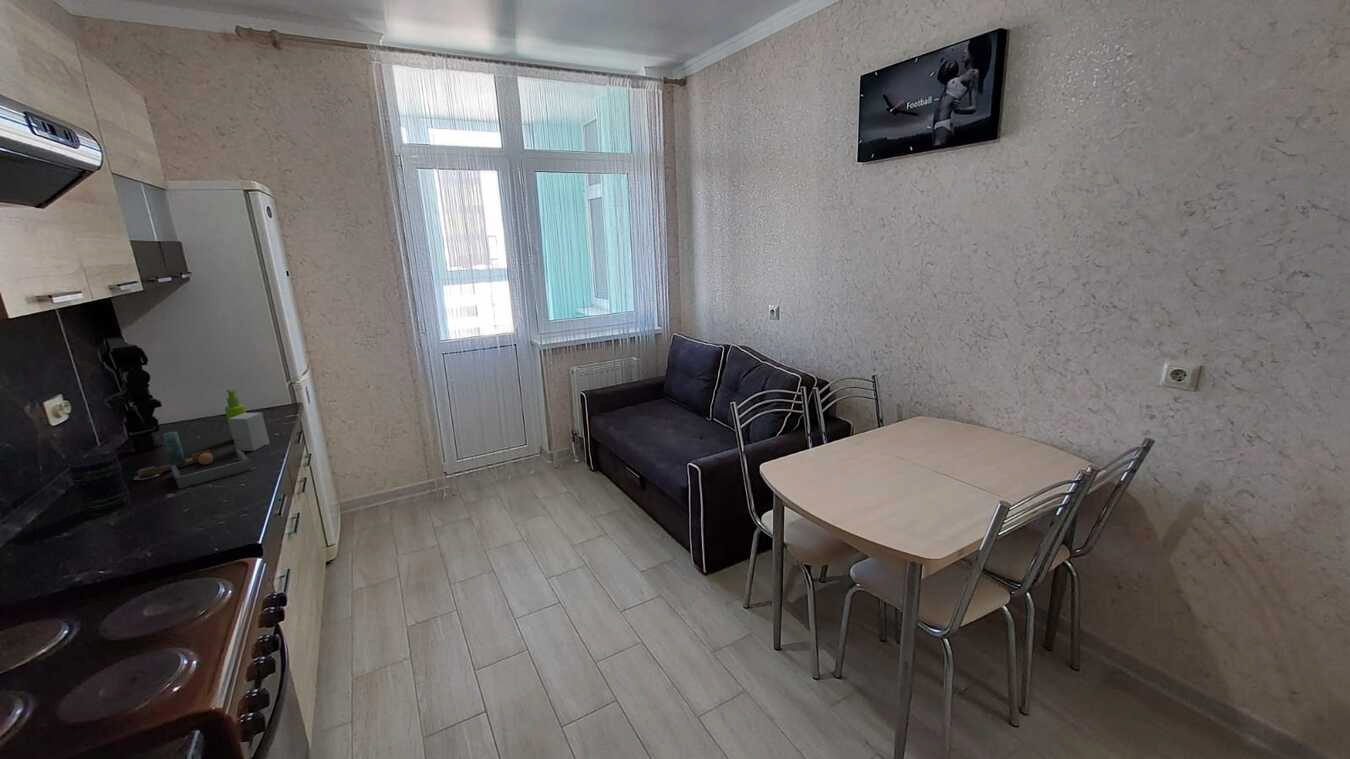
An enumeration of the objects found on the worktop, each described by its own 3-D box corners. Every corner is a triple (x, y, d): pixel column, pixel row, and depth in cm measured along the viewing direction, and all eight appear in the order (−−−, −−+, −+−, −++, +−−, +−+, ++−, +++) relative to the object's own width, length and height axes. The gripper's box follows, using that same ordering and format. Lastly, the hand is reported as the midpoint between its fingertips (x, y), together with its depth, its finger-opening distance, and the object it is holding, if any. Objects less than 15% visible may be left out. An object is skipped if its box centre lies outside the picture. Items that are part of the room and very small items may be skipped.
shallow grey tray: (173, 475, 177) (170, 466, 176) (242, 458, 190) (240, 449, 189) (179, 488, 167) (176, 478, 166) (251, 469, 181) (249, 459, 180)
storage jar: (100, 517, 151) (84, 468, 147) (74, 514, 153) (57, 465, 149) (140, 500, 160) (126, 454, 156) (115, 498, 162) (100, 452, 158)
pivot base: (137, 482, 173) (137, 481, 172) (130, 477, 176) (130, 477, 176) (166, 474, 178) (165, 473, 178) (158, 470, 182) (158, 469, 182)
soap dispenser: (236, 442, 205) (223, 392, 200) (230, 439, 209) (218, 390, 204) (254, 438, 210) (243, 389, 205) (249, 434, 214) (237, 386, 209)
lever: (141, 479, 174) (130, 444, 171) (137, 476, 177) (126, 442, 173) (214, 458, 190) (205, 426, 187) (209, 456, 192) (200, 424, 189)
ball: (204, 462, 188) (201, 451, 187) (217, 461, 188) (214, 450, 187) (196, 466, 184) (193, 455, 183) (209, 465, 184) (206, 455, 183)
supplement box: (270, 443, 204) (263, 412, 200) (253, 451, 197) (245, 418, 193) (252, 443, 204) (245, 412, 201) (235, 451, 197) (227, 418, 194)
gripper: (93, 384, 182) (107, 427, 186) (110, 391, 172) (124, 437, 176) (137, 376, 191) (149, 418, 195) (155, 383, 181) (168, 426, 185)
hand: (147, 425), depth 188 cm, fingers closed
